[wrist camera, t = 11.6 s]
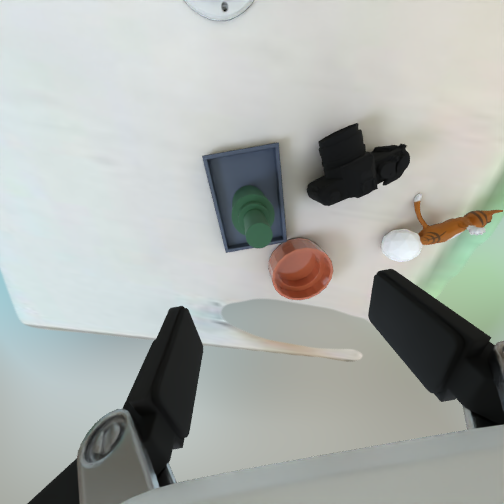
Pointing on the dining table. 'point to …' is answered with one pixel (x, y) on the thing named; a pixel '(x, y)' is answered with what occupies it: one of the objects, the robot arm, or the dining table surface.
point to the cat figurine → (431, 233)
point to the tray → (242, 174)
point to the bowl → (300, 269)
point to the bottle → (253, 216)
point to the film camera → (354, 166)
